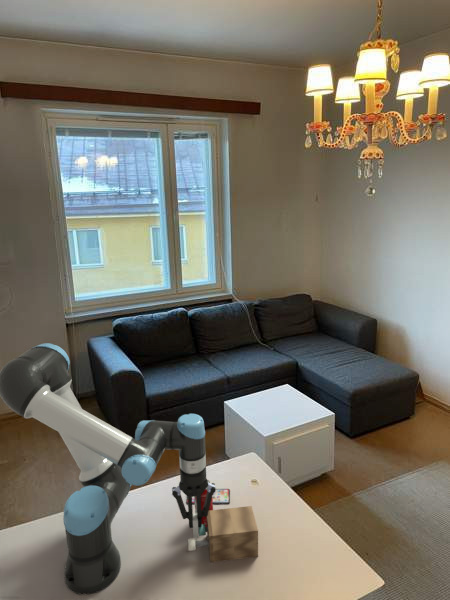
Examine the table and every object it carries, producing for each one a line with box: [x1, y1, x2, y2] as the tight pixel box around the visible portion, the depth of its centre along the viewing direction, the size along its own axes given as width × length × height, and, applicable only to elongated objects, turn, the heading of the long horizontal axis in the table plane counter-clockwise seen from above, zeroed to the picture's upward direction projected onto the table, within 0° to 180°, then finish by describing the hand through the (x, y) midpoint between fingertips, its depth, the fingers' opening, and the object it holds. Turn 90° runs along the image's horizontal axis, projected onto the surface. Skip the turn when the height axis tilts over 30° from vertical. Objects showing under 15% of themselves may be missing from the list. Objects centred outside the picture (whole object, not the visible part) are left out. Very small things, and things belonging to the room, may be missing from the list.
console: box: [206, 505, 259, 563], centre depth 126 cm, size 14×10×9 cm
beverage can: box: [194, 479, 214, 527], centre depth 135 cm, size 6×6×15 cm
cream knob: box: [187, 538, 209, 552], centre depth 123 cm, size 8×3×3 cm, turn 97°
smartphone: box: [185, 488, 231, 506], centre depth 148 cm, size 8×1×15 cm
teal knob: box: [198, 524, 208, 537], centre depth 128 cm, size 8×3×3 cm, turn 97°
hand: (195, 535), depth 128 cm, fingers closed
